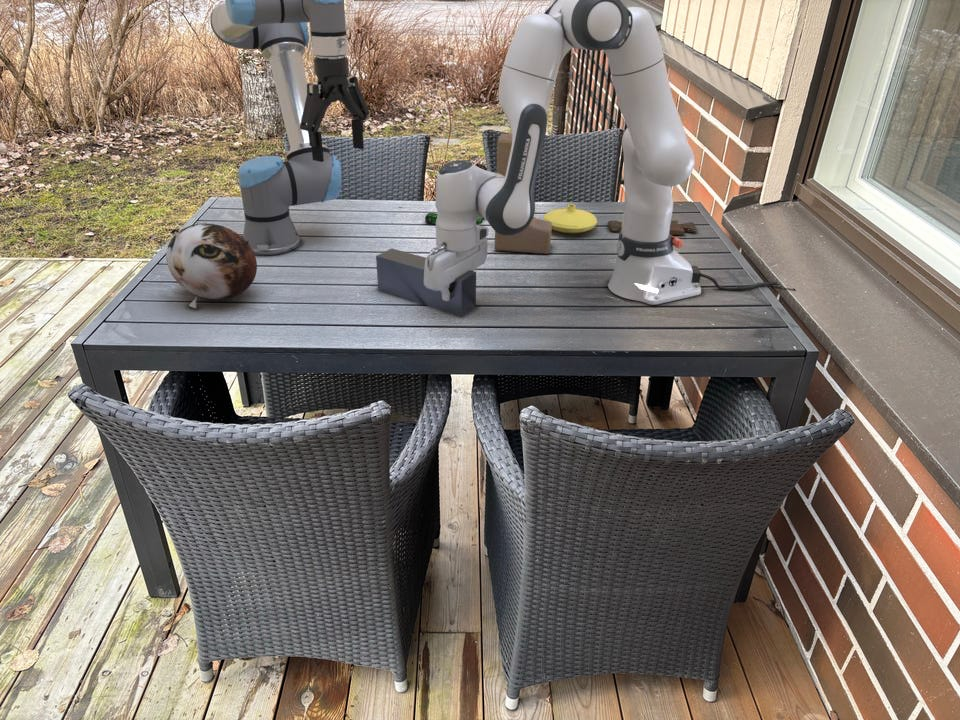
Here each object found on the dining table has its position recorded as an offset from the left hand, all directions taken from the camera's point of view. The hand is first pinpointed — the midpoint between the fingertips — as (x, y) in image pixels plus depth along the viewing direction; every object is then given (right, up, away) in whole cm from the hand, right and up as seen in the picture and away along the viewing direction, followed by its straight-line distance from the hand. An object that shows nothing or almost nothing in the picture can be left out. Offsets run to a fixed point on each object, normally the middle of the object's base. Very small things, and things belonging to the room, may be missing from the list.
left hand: (339, 154), depth 167 cm
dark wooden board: (+84, -9, +45) cm, 96 cm away
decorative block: (+45, -17, +31) cm, 57 cm away
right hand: (+27, -33, -3) cm, 43 cm away
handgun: (+27, -6, +49) cm, 56 cm away
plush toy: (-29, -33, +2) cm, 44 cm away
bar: (+20, -33, +3) cm, 39 cm away
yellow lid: (+59, -9, +44) cm, 75 cm away
